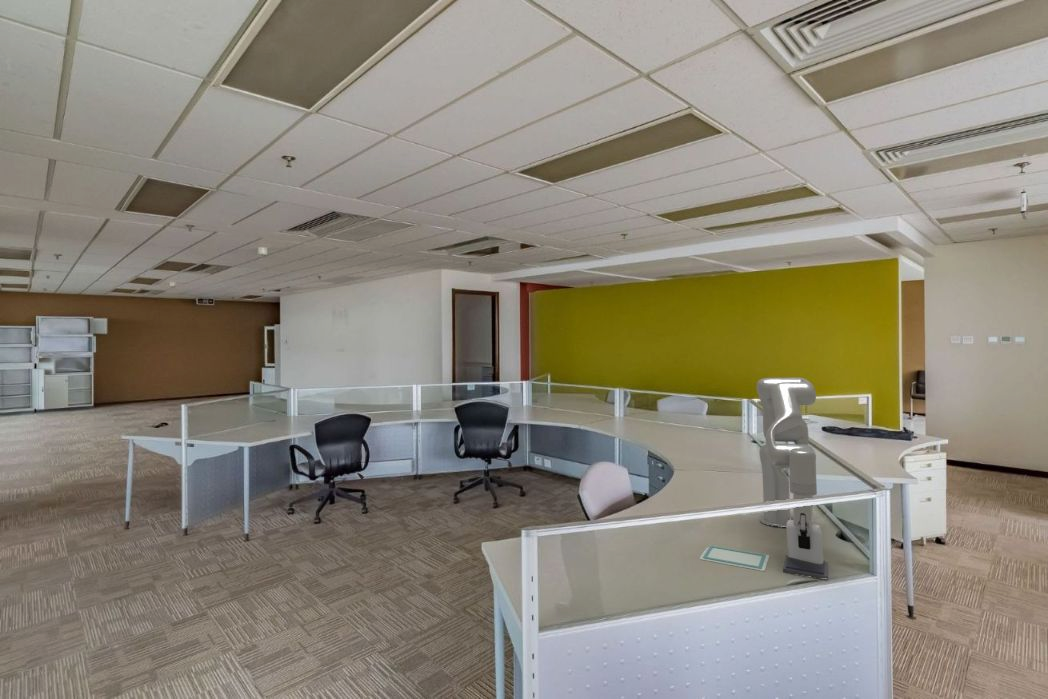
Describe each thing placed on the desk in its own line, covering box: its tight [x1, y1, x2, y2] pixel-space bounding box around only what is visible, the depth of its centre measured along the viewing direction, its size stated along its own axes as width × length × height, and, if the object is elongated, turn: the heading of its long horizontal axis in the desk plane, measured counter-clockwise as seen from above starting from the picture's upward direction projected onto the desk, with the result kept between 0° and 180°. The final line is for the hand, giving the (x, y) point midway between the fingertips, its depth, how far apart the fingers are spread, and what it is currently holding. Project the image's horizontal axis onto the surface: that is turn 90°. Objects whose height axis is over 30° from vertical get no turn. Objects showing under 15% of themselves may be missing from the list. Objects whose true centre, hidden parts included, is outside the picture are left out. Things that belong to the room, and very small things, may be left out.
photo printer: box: [786, 520, 824, 564], centre depth 160 cm, size 10×4×12 cm, turn 43°
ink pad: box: [782, 554, 829, 579], centre depth 160 cm, size 12×12×2 cm
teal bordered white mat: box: [698, 544, 770, 573], centre depth 170 cm, size 14×20×1 cm
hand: (804, 544), depth 160 cm, fingers closed on photo printer, 5 cm apart
